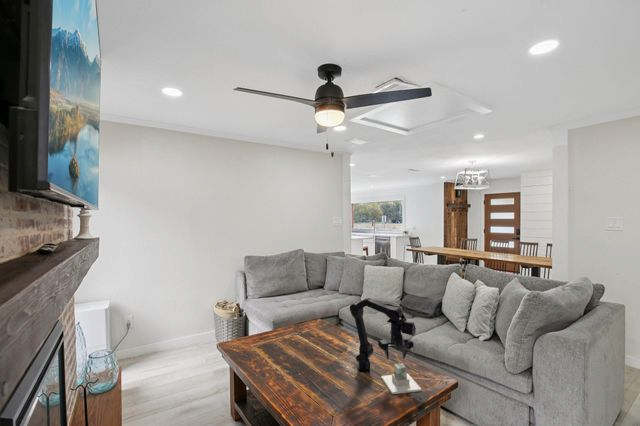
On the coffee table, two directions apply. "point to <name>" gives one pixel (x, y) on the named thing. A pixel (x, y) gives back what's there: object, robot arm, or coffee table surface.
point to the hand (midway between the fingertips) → (395, 358)
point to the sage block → (400, 371)
